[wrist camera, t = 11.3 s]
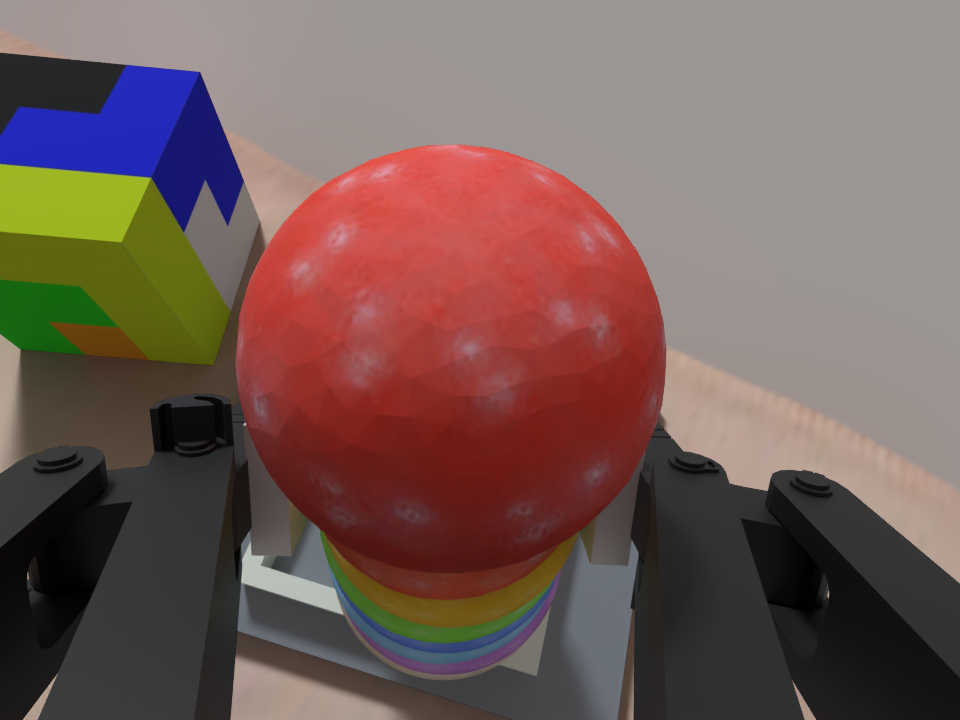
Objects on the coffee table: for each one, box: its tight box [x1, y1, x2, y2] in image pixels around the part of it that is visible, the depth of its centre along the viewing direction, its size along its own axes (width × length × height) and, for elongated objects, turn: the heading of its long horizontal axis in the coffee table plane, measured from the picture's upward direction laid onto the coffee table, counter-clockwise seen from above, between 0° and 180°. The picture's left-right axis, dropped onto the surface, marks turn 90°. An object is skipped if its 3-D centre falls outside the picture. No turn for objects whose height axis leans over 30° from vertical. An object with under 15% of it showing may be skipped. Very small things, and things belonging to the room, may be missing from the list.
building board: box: [237, 519, 639, 720], centre depth 27 cm, size 20×16×2 cm
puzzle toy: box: [0, 53, 260, 365], centre depth 28 cm, size 10×10×10 cm
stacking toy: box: [235, 145, 666, 680], centre depth 13 cm, size 8×8×19 cm
